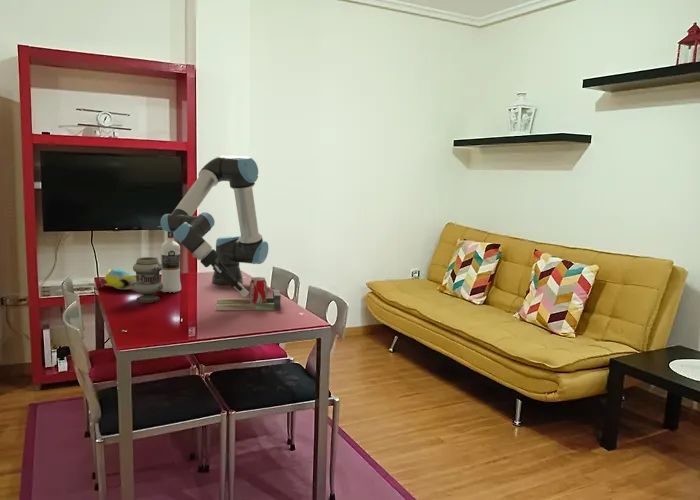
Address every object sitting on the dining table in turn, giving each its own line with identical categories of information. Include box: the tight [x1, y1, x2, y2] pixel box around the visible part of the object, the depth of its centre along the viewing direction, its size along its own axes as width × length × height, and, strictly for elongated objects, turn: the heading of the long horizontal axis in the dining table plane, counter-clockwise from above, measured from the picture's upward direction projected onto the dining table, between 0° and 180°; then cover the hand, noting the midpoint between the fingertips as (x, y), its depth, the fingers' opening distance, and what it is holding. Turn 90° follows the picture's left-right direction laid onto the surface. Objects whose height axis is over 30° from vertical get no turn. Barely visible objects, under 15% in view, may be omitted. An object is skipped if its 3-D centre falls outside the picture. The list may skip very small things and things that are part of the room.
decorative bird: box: [98, 267, 136, 291], centre depth 262 cm, size 14×30×9 cm, turn 60°
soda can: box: [249, 276, 268, 304], centre depth 237 cm, size 7×7×12 cm
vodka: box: [160, 231, 182, 294], centre depth 259 cm, size 9×9×30 cm
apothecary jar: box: [132, 256, 163, 303], centre depth 241 cm, size 12×12×18 cm
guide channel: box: [215, 289, 282, 311], centre depth 237 cm, size 12×26×6 cm, turn 101°
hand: (246, 294), depth 236 cm, fingers closed
